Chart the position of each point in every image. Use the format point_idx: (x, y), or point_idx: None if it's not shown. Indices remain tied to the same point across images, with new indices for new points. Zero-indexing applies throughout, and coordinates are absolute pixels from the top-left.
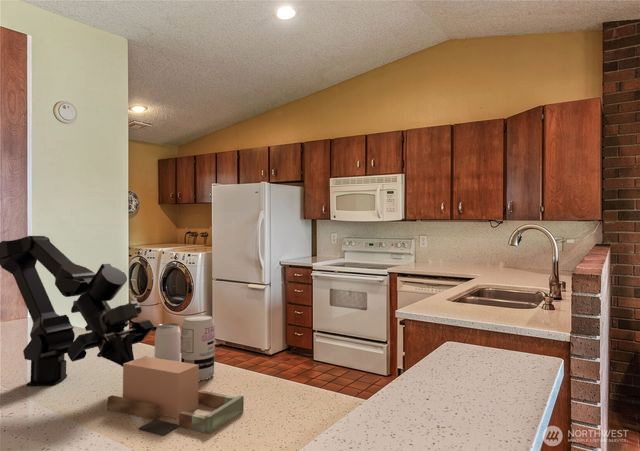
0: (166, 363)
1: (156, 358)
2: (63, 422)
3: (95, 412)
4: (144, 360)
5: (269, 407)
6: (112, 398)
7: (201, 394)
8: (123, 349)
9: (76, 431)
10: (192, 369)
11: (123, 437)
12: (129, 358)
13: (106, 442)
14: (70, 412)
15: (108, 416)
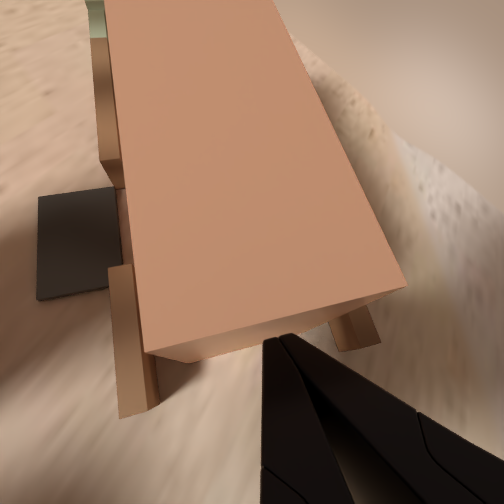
0: (184, 64)
1: (139, 196)
2: (498, 355)
3: (397, 354)
4: (240, 226)
5: (48, 11)
6: (368, 312)
7: (116, 110)
8: (450, 498)
9: (466, 256)
10: None
11: (377, 142)
12: (319, 385)
13: (413, 150)
14: (475, 439)
15: None
